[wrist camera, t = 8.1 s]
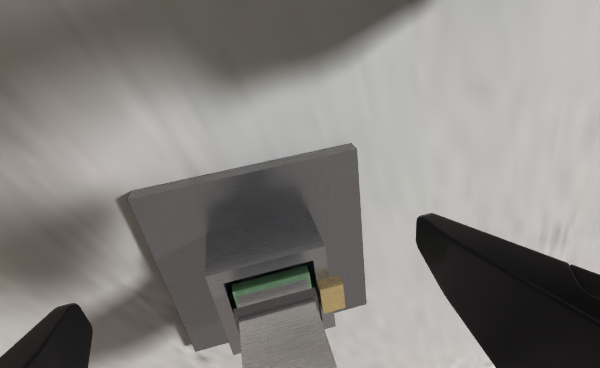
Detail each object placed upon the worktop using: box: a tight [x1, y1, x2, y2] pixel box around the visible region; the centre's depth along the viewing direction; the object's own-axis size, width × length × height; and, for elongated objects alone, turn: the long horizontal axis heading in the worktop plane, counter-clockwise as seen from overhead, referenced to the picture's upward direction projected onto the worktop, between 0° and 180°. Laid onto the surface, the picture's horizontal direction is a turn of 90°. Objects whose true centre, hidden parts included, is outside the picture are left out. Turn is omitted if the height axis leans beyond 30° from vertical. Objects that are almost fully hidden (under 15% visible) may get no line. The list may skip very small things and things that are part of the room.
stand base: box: [127, 143, 366, 355], centre depth 23 cm, size 14×14×6 cm
